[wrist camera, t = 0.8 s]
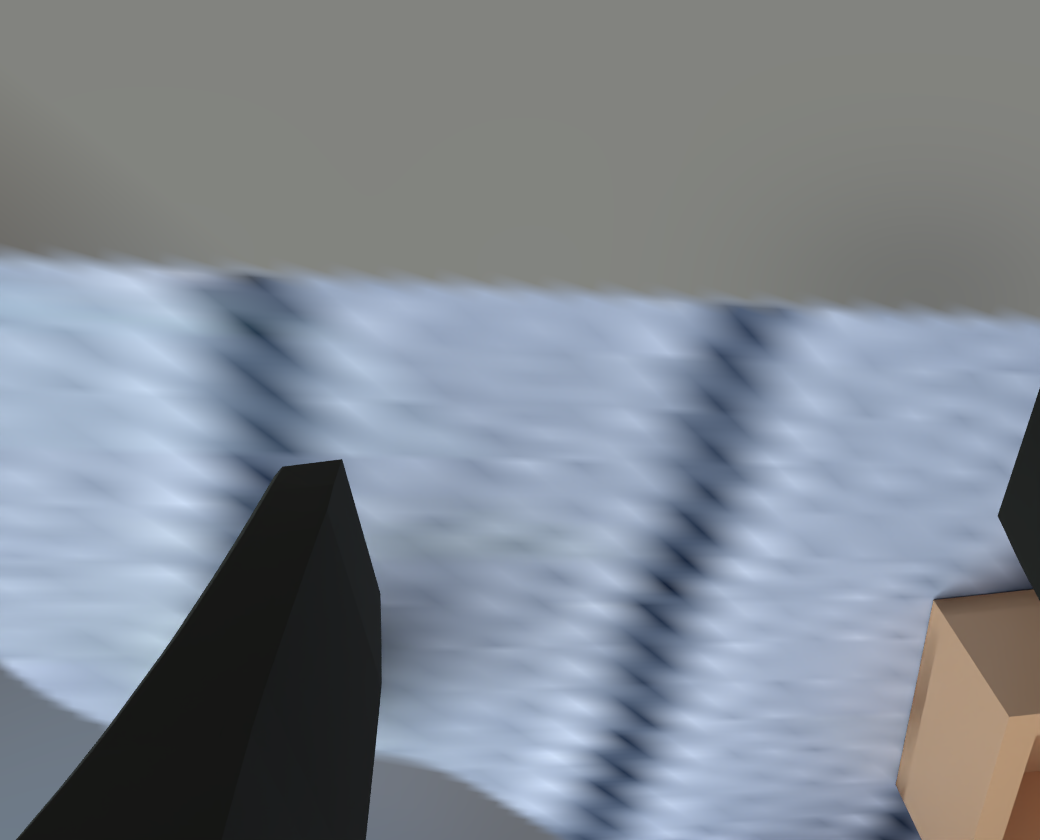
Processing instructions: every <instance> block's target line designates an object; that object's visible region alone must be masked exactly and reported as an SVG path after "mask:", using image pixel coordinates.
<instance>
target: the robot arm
mask: <svg viewBox="0 0 1040 840" xmlns="http://www.w3.org/2000/svg"><path fill="white" fill-rule="evenodd" d="M998 517H999V519H1000V522H1001V524H1002V526H1003V528H1004V530H1005V532H1006V534H1007V537H1008V539H1009V541H1010V543H1011V545H1012V547H1013V549H1014V552H1015V554H1016V556H1017V558H1018V560H1019V562H1020V564H1021V566H1022V568H1023V570H1024V572H1025V574H1026V576H1027V578H1028V580H1029V582H1030V583H1031V585H1032V587H1033V589H1034V591H1035V593H1036V595H1037V597H1038V599H1039V601H1040V389H1039V392H1038V395H1037V398H1036V401H1035V404H1034V408H1033V411H1032V414H1031V417H1030V420H1029V423H1028V426H1027V429H1026V432H1025V435H1024V438H1023V441H1022V444H1021V447H1020V450H1019V453H1018V456H1017V459H1016V462H1015V465H1014V468H1013V471H1012V474H1011V477H1010V480H1009V483H1008V486H1007V489H1006V492H1005V495H1004V498H1003V501H1002V505H1001V508H1000V511H999V514H998ZM381 684H382V675H381V601H380V591H379V587H378V584H377V580H376V577H375V573H374V570H373V566H372V563H371V559H370V556H369V552H368V549H367V545H366V542H365V538H364V535H363V531H362V528H361V524H360V521H359V517H358V514H357V510H356V507H355V503H354V500H353V496H352V493H351V489H350V486H349V482H348V479H347V475H346V472H345V468H344V465H343V461H342V459H341V460H333V461H325V462H317V463H309V464H301V465H293V466H285V467H282V468H281V469H280V470H279V472H278V473H277V474H276V475H275V476H274V478H273V480H272V481H271V483H270V485H269V486H268V488H267V490H266V491H265V493H264V495H263V496H262V498H261V500H260V501H259V503H258V505H257V506H256V508H255V510H254V511H253V513H252V515H251V517H250V518H249V520H248V522H247V523H246V525H245V527H244V528H243V530H242V531H241V533H240V535H239V536H238V538H237V540H236V541H235V543H234V545H233V546H232V548H231V549H230V551H229V553H228V554H227V556H226V557H225V559H224V561H223V562H222V564H221V565H220V567H219V569H218V570H217V572H216V573H215V575H214V577H213V578H212V580H211V581H210V583H209V584H208V586H207V587H206V589H205V590H204V592H203V593H202V595H201V596H200V598H199V599H198V601H197V602H196V604H195V605H194V607H193V608H192V610H191V611H190V613H189V614H188V616H187V617H186V619H185V621H184V622H183V624H182V625H181V627H180V628H179V630H178V631H177V633H176V634H175V636H174V637H173V639H172V640H171V641H170V643H169V644H168V646H167V647H166V649H165V650H164V652H163V653H162V654H161V656H160V657H159V659H158V660H157V661H156V663H155V664H154V665H153V667H152V668H151V669H150V671H149V672H148V674H147V675H146V676H145V678H144V679H143V680H142V682H141V683H140V685H139V686H138V687H137V689H136V690H135V691H134V693H133V694H132V695H131V697H130V698H129V700H128V701H127V702H126V704H125V705H124V706H123V708H122V709H121V710H120V712H119V713H118V715H117V716H116V717H115V719H114V720H113V721H112V723H111V724H110V725H109V727H108V728H107V729H106V731H105V732H104V733H103V735H102V736H101V737H100V739H99V740H98V741H97V742H96V744H95V745H94V746H93V747H92V749H91V750H90V751H89V752H88V754H87V755H86V756H85V757H84V759H83V760H82V761H81V763H80V764H79V765H78V766H77V768H76V769H75V770H74V771H73V773H72V774H71V775H70V776H69V777H68V779H67V780H66V781H65V782H64V784H63V785H62V786H61V787H60V788H59V790H58V791H57V792H56V793H55V795H54V796H53V797H52V798H51V799H50V801H49V802H48V803H47V804H46V805H45V806H44V808H43V809H42V810H41V811H40V812H39V813H38V814H37V816H36V817H35V818H34V819H33V820H32V822H31V823H30V824H29V825H28V826H27V827H26V829H25V830H24V831H23V832H22V833H21V835H20V836H19V837H18V838H17V839H16V840H366V832H367V823H368V813H369V803H370V794H371V784H372V775H373V765H374V756H375V746H376V736H377V726H378V716H379V706H380V695H381Z"/></svg>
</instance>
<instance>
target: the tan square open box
mask: <svg viewBox="0 0 1040 840" xmlns="http://www.w3.org/2000/svg"><path fill="white" fill-rule="evenodd" d="M896 786H897V788H898V791H899V793H900V795H901V797H902V799H903V801H904V803H905V805H906V807H907V810H908V812H909V814H910V816H911V818H912V820H913V822H914V824H915V826H916V828H917V831H918V833H919V835H920V837H921V839H922V840H1040V601H1039V599H1038V597H1037V595H1036V593H1035V591H1034V589H1032V590H1023V591H1014V592H1004V593H995V594H985V595H976V596H967V597H957V598H948V599H939V600H933V605H932V610H931V615H930V620H929V625H928V630H927V635H926V639H925V644H924V649H923V654H922V659H921V664H920V669H919V673H918V678H917V683H916V688H915V693H914V698H913V703H912V708H911V712H910V717H909V722H908V727H907V732H906V737H905V742H904V747H903V751H902V756H901V761H900V766H899V771H898V776H897V781H896Z"/></svg>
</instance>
